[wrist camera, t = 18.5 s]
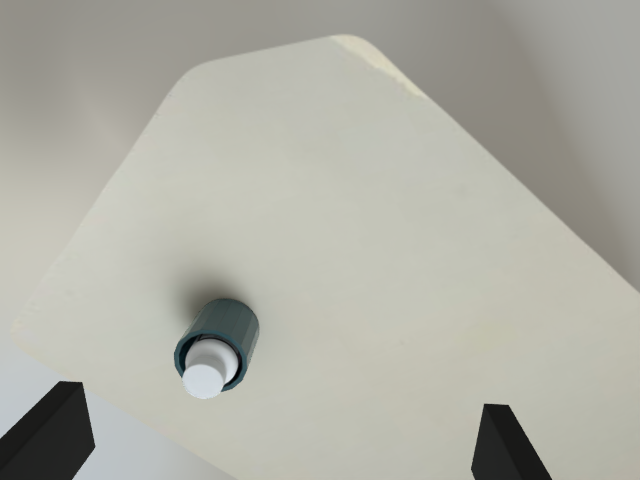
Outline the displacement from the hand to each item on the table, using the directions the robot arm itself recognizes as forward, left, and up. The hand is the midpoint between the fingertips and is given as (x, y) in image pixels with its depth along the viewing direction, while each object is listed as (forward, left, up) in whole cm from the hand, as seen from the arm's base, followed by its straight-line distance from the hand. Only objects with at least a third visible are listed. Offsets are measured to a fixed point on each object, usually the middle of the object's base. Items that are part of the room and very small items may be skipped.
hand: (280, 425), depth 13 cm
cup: (+15, -10, -31) cm, 36 cm away
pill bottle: (+15, -10, -30) cm, 35 cm away
